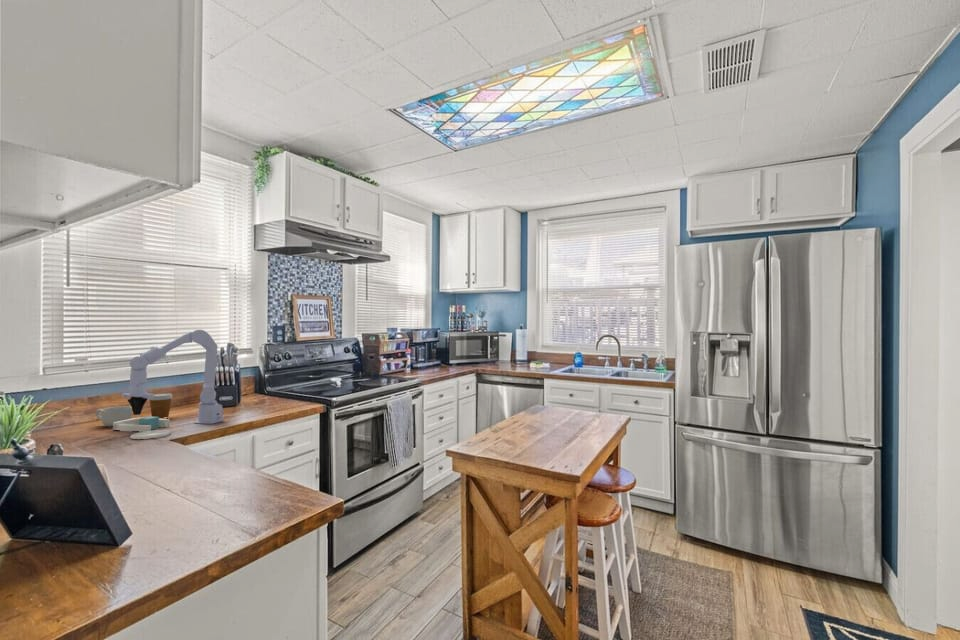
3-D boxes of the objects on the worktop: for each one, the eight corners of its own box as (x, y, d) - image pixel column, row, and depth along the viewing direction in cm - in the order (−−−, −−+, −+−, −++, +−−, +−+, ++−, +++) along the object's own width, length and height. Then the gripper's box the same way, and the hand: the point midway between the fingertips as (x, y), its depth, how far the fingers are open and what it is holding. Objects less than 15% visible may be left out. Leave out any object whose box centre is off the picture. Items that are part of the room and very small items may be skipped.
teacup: (137, 423, 197) (138, 406, 197) (115, 428, 186) (116, 410, 186) (110, 422, 198) (111, 405, 198) (87, 427, 187) (87, 409, 188)
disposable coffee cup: (142, 420, 203) (143, 395, 204) (162, 416, 212) (163, 392, 213) (157, 421, 201) (158, 396, 201) (176, 418, 210) (177, 393, 210)
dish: (178, 433, 178) (178, 430, 178) (149, 440, 165) (149, 438, 165) (151, 431, 180) (151, 429, 180) (121, 439, 167) (121, 436, 167)
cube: (158, 428, 188) (159, 416, 188) (148, 430, 183) (148, 419, 183) (149, 427, 188) (149, 416, 189) (138, 430, 183) (138, 418, 184)
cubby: (169, 426, 190) (169, 418, 190) (146, 432, 179) (146, 423, 179) (137, 425, 193) (137, 417, 193) (112, 430, 182) (113, 422, 182)
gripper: (115, 384, 184) (114, 415, 184) (143, 385, 182) (142, 416, 182) (131, 382, 191) (129, 412, 191) (158, 383, 189) (157, 413, 188)
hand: (137, 414), depth 187 cm, fingers closed
